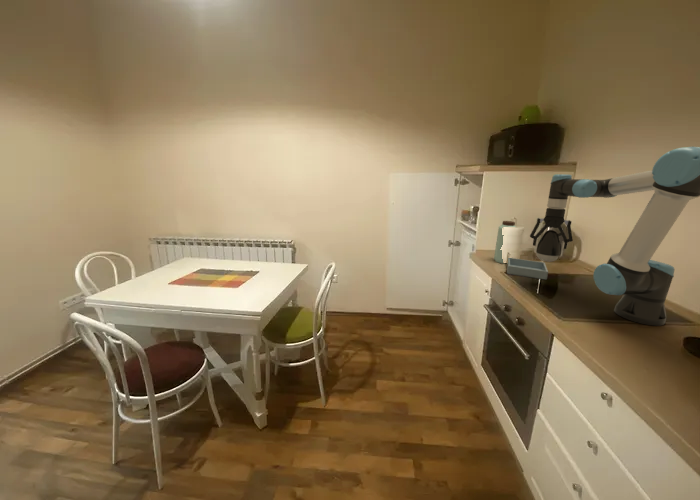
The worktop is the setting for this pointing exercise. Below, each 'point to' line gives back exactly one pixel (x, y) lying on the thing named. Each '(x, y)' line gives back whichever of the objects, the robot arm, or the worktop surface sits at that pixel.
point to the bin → (527, 268)
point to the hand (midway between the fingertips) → (547, 253)
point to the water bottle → (501, 240)
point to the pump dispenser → (549, 246)
